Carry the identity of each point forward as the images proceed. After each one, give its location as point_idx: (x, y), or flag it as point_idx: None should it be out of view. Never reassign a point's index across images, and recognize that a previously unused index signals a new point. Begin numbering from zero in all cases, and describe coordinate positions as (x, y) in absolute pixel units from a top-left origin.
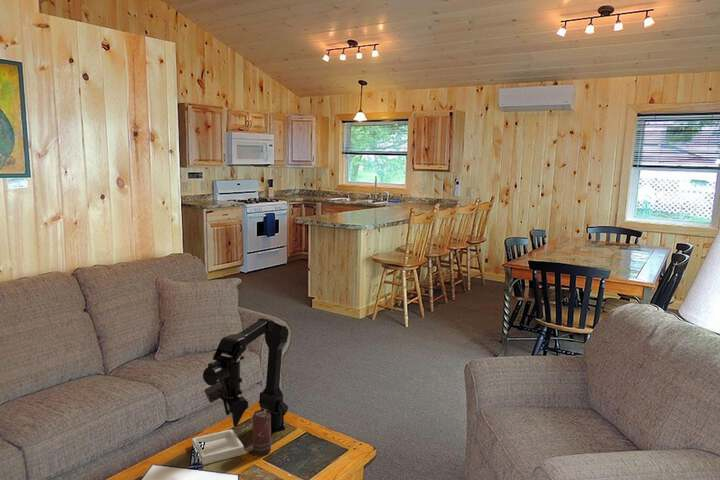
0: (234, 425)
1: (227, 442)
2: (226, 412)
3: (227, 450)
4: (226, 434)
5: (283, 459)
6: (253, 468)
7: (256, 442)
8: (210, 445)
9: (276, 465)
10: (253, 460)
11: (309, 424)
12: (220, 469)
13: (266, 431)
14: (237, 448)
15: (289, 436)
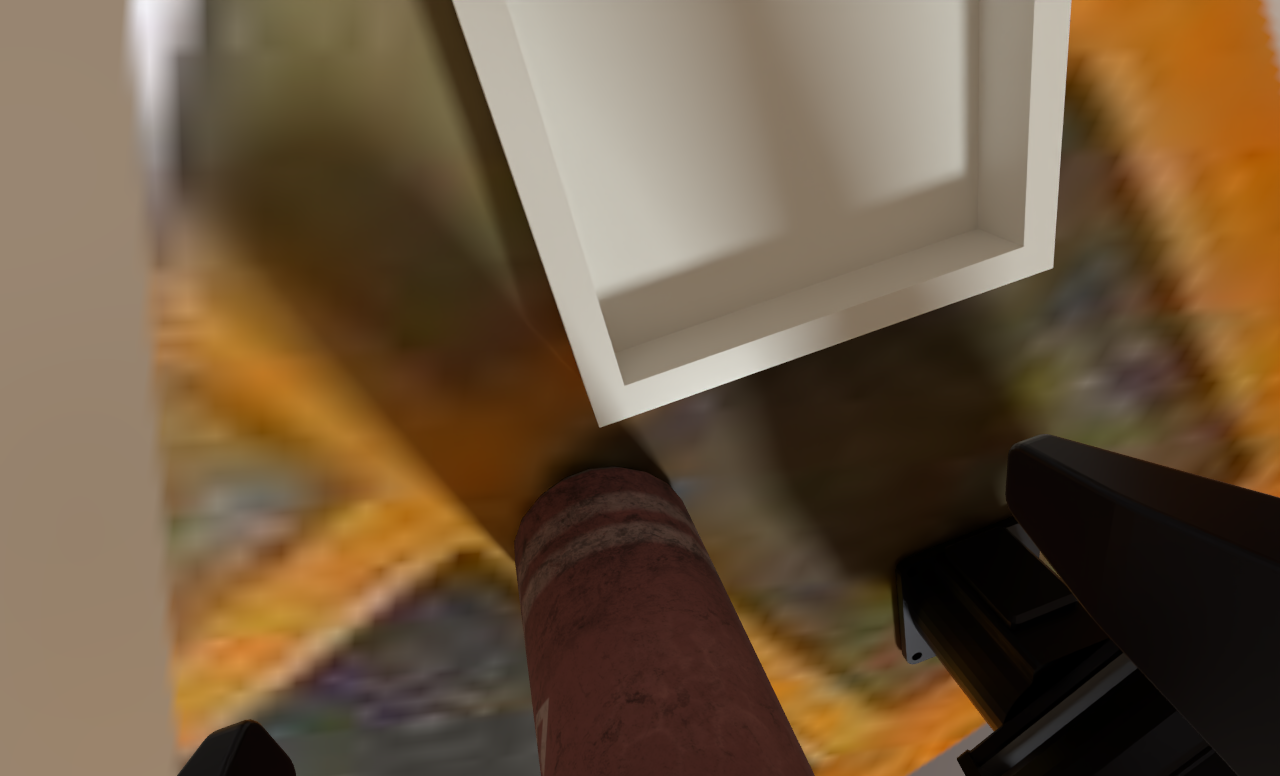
0: (204, 769)
1: (855, 202)
2: (1074, 491)
3: (539, 232)
4: (1000, 195)
5: (429, 693)
6: (272, 486)
7: (549, 598)
8: None
9: (326, 659)
10: (442, 474)
11: (901, 770)
12: (252, 114)
13: None
14: (575, 355)
15: (788, 688)
